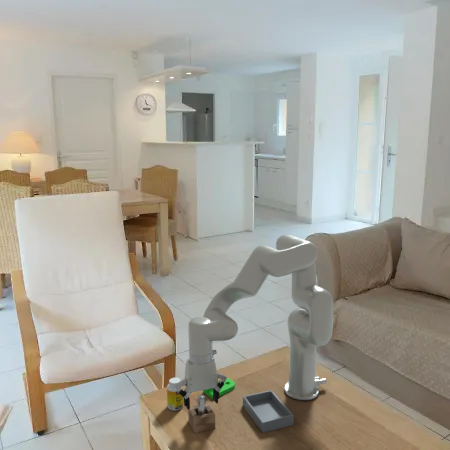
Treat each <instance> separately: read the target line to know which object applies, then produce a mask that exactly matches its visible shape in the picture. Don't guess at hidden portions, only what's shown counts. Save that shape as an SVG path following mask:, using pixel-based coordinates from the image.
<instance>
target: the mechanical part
mask: <svg viewBox="0 0 450 450" xmlns="http://www.w3.org/2000/svg"><path fill="white" fill-rule="evenodd" d="M218 382H219V378H217V384H218ZM235 388H236V382H235V381H234V380H232V379H231V378H229V377H227V379H226V381H225V383H224V386H223V387H222V388H221V391H220V392H219V397H221V396H223V395H225V394H227V393H229V392H231V391H233V390H234V389H235ZM202 392H203V393H204V394H205V395H207V396H208V397H210V398H211V399H212V400H214V399H213V388H211V389H207V390H202Z"/></svg>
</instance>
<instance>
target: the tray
mask: <svg viewBox="0 0 450 450" xmlns="http://www.w3.org/2000/svg"><path fill="white" fill-rule="evenodd" d="M242 407H243V408H244V409H245V411H246V413H248V414H249V416H250V418H251V419H252V420H253V422H254V423H255V425H256V427H258V429H259V430H260V432H261V433H268V432H271V431H275V430H279V429H283V428H286V427H291V426H294V413H292V411H291V410H290V409H289V408H288V407H287V406H286V404H284V402H283V401H282V400H281V399H280V398H279V397H278V395H277V394H275V392H274V390H272V389H270V390H267V391H261V392H255V393H251V394H247V395H243V396H242Z"/></svg>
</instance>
